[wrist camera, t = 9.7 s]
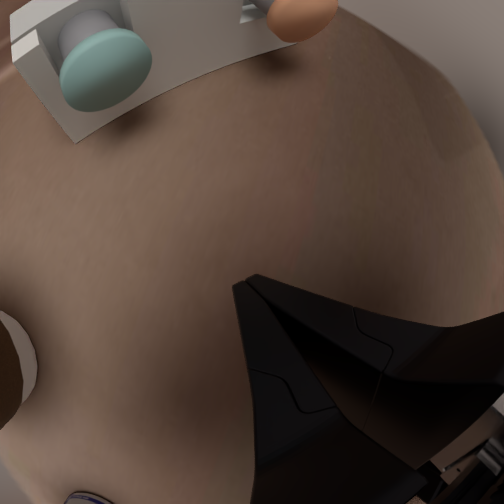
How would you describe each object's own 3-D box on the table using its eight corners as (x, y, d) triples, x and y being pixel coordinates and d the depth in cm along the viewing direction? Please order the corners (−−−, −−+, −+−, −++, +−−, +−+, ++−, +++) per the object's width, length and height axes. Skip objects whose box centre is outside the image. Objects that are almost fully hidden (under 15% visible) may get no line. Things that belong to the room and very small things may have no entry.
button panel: (296, 43, 21) (328, -39, 12) (75, 144, 18) (12, 62, 8) (253, 5, 22) (269, -70, 12) (55, 89, 18) (10, 15, 8)
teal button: (157, 83, 14) (145, 21, 9) (82, 125, 13) (48, 73, 9) (128, 41, 14) (115, -13, 10) (63, 77, 13) (36, 29, 9)
